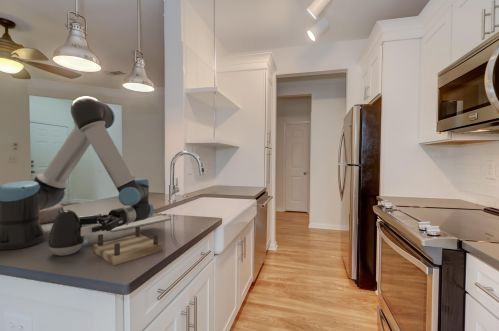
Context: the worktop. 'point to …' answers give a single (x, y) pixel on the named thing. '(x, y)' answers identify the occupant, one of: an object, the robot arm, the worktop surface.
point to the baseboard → (142, 222)
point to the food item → (49, 214)
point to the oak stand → (127, 247)
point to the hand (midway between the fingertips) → (68, 229)
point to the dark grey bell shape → (66, 234)
